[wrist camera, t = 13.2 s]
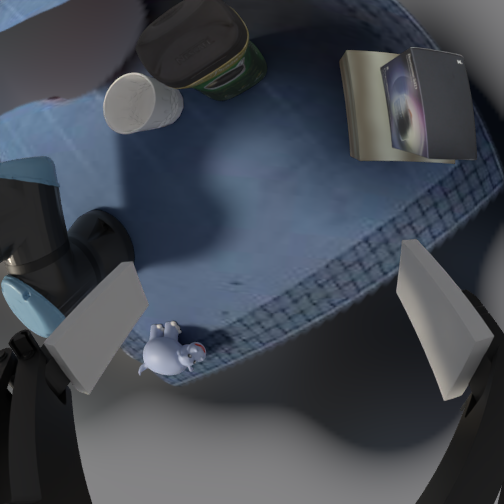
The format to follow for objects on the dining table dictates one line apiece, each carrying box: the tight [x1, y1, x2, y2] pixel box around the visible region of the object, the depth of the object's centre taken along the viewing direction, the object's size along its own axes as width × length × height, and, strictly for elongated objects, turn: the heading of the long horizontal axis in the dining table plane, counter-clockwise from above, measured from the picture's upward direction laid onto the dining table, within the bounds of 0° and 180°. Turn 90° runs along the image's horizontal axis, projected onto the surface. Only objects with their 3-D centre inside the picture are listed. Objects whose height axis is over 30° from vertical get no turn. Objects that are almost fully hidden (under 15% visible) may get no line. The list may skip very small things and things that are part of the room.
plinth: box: [339, 50, 455, 164], centre depth 28 cm, size 14×14×6 cm
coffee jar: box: [136, 0, 267, 101], centre depth 23 cm, size 10×8×19 cm
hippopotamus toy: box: [139, 321, 206, 375], centre depth 51 cm, size 11×15×10 cm
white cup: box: [103, 73, 183, 134], centre depth 31 cm, size 8×8×10 cm
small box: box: [380, 47, 477, 160], centre depth 20 cm, size 11×6×10 cm, turn 10°
